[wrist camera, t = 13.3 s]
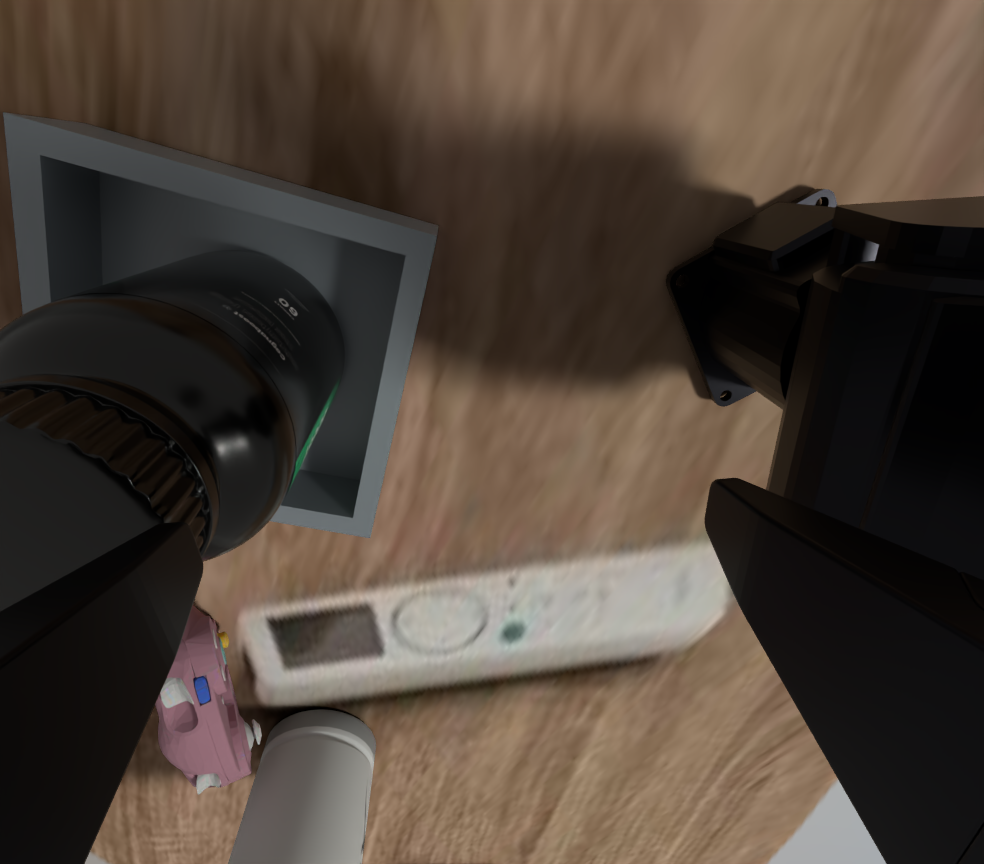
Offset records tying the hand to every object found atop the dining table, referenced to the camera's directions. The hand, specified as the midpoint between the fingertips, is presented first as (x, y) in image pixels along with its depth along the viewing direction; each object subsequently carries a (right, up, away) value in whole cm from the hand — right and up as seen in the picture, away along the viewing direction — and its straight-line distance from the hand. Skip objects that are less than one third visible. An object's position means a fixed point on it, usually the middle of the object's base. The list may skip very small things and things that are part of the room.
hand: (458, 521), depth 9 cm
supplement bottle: (-8, +5, +11) cm, 14 cm away
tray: (-9, +5, +11) cm, 15 cm away
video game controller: (-14, -10, +18) cm, 25 cm away
